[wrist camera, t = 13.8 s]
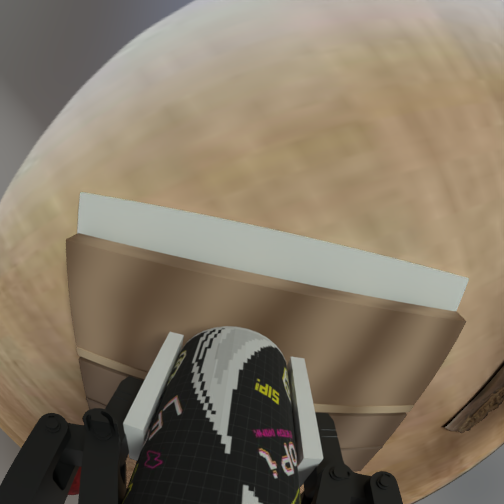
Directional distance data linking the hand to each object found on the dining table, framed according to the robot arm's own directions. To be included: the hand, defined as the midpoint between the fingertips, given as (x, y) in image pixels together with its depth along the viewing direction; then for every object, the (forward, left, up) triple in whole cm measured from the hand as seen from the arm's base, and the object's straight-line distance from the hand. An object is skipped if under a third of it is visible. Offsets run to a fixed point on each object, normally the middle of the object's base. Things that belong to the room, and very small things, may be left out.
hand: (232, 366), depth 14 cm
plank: (-2, 0, -3) cm, 3 cm away
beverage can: (0, 0, -1) cm, 1 cm away
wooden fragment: (-34, +1, -4) cm, 35 cm away
